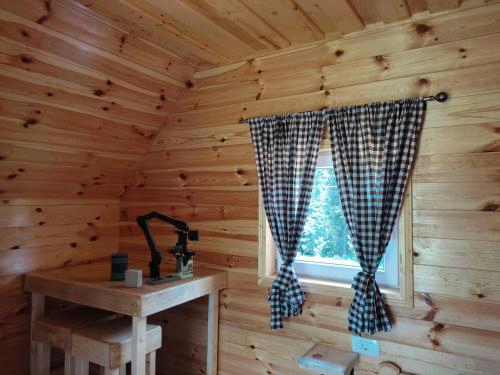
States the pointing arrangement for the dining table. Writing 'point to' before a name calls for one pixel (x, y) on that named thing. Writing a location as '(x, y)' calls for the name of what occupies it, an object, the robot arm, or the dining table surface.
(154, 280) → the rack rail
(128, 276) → the medicine box
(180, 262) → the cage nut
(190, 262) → the coffee can
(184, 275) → the parts tray
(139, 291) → the dining table surface
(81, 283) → the dining table surface
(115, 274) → the storage jar
